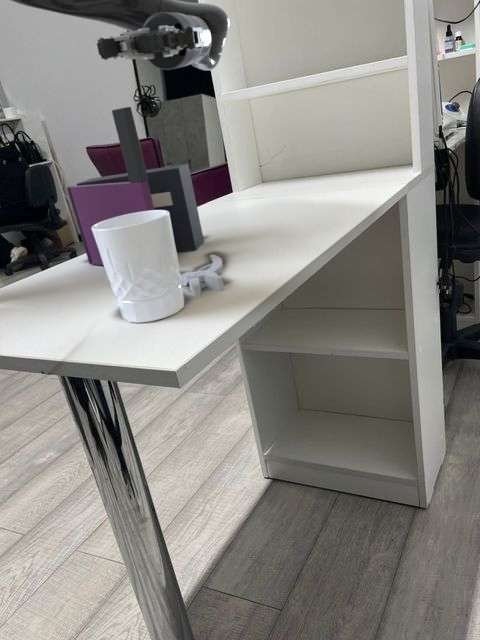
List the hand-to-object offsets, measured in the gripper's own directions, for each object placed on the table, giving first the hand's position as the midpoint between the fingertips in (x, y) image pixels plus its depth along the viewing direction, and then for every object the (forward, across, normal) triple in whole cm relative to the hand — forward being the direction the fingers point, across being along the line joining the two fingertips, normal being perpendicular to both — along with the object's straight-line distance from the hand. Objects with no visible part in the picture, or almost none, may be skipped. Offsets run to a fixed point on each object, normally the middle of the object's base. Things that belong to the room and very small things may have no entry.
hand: (130, 45), depth 71 cm
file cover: (+8, -4, +27) cm, 29 cm away
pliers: (+17, +10, +26) cm, 33 cm away
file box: (+1, -3, +28) cm, 28 cm away
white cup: (+28, +9, +25) cm, 38 cm away
